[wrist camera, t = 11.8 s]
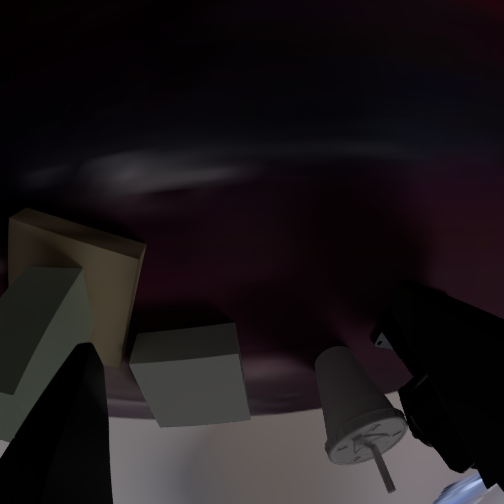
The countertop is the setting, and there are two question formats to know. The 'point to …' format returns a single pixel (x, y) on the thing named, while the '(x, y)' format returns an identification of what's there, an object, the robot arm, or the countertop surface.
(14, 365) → the sage block
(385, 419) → the smoothie
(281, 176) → the countertop surface
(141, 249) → the oak block
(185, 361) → the grey tile block
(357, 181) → the countertop surface
